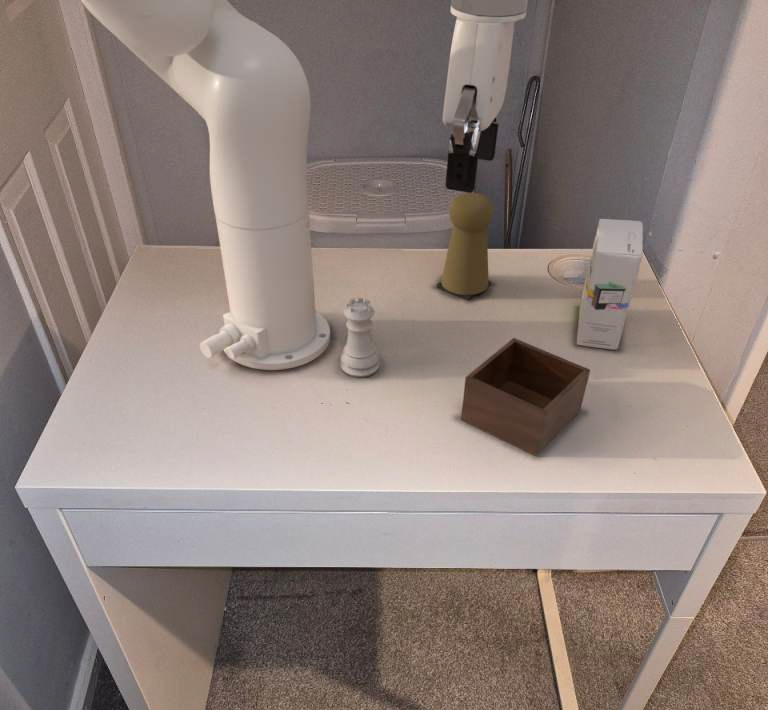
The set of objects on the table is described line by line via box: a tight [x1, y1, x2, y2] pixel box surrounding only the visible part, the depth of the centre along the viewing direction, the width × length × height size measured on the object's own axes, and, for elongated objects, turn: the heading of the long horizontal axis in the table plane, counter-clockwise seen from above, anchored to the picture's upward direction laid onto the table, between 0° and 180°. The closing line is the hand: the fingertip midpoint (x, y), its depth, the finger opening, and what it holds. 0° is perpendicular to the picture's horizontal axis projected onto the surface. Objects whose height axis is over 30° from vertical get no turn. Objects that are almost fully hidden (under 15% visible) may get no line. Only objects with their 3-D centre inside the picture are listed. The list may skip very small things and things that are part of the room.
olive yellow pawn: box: [440, 192, 494, 295], centre depth 93 cm, size 6×6×11 cm
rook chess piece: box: [339, 296, 381, 379], centre depth 82 cm, size 4×4×8 cm
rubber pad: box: [436, 280, 492, 301], centre depth 97 cm, size 5×5×1 cm
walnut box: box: [460, 337, 591, 457], centre depth 77 cm, size 9×9×5 cm
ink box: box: [576, 218, 644, 351], centre depth 87 cm, size 8×5×12 cm, turn 167°
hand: (470, 173), depth 87 cm, fingers open, 9 cm apart
